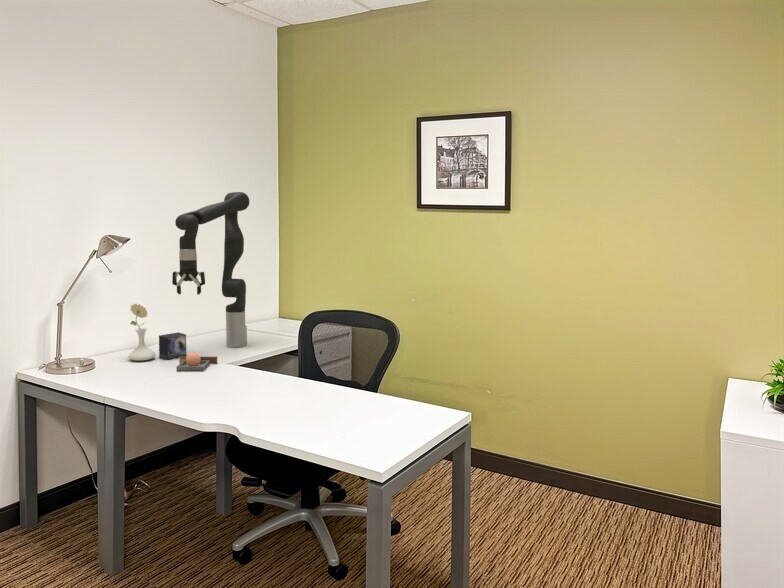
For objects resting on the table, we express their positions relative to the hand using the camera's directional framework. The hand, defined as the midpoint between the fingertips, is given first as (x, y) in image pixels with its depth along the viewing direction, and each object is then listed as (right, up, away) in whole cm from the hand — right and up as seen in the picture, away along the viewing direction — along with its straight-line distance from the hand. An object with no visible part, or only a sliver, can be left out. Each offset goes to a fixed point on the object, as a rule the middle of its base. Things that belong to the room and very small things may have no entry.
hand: (189, 294), depth 292 cm
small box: (-7, -29, -2) cm, 30 cm away
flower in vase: (-19, -29, -6) cm, 36 cm away
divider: (+8, -30, -13) cm, 34 cm away
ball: (+9, -31, -21) cm, 38 cm away
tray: (+9, -31, -21) cm, 39 cm away
